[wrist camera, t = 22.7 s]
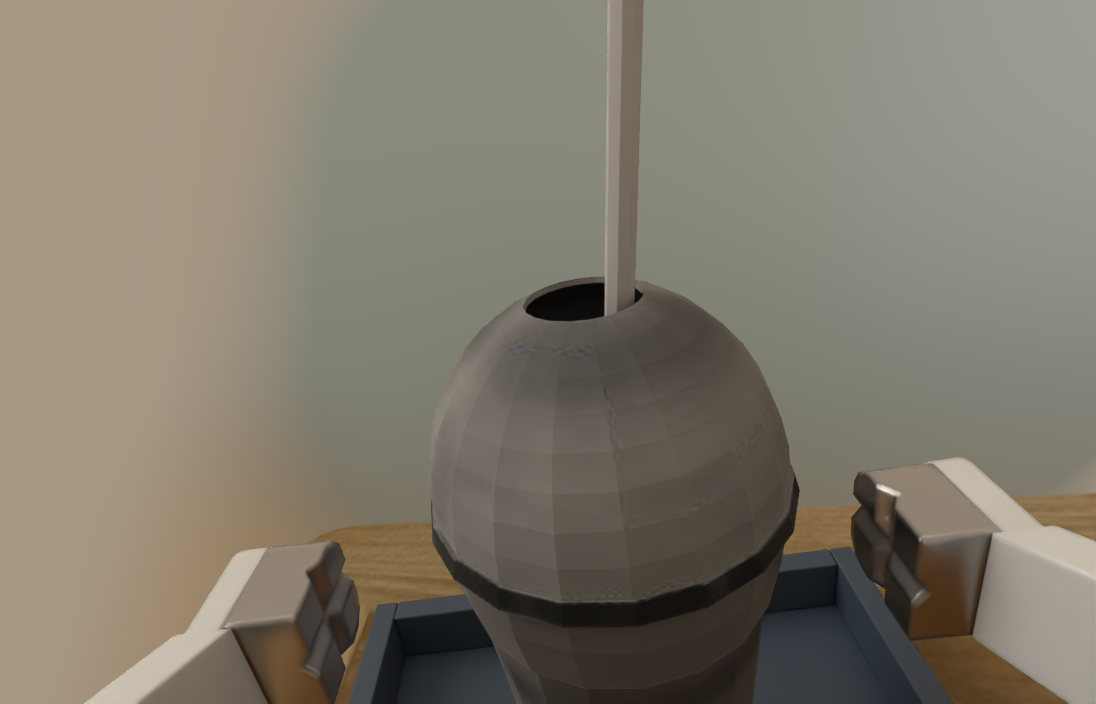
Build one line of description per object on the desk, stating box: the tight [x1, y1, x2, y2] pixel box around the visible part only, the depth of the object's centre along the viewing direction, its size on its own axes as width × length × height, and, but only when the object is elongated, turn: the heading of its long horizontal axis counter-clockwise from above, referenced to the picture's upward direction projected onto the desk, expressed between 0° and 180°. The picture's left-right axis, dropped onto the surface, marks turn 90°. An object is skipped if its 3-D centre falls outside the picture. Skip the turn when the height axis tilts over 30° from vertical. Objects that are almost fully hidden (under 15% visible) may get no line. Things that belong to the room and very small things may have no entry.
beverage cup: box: [430, 0, 800, 704], centre depth 13 cm, size 7×7×20 cm
